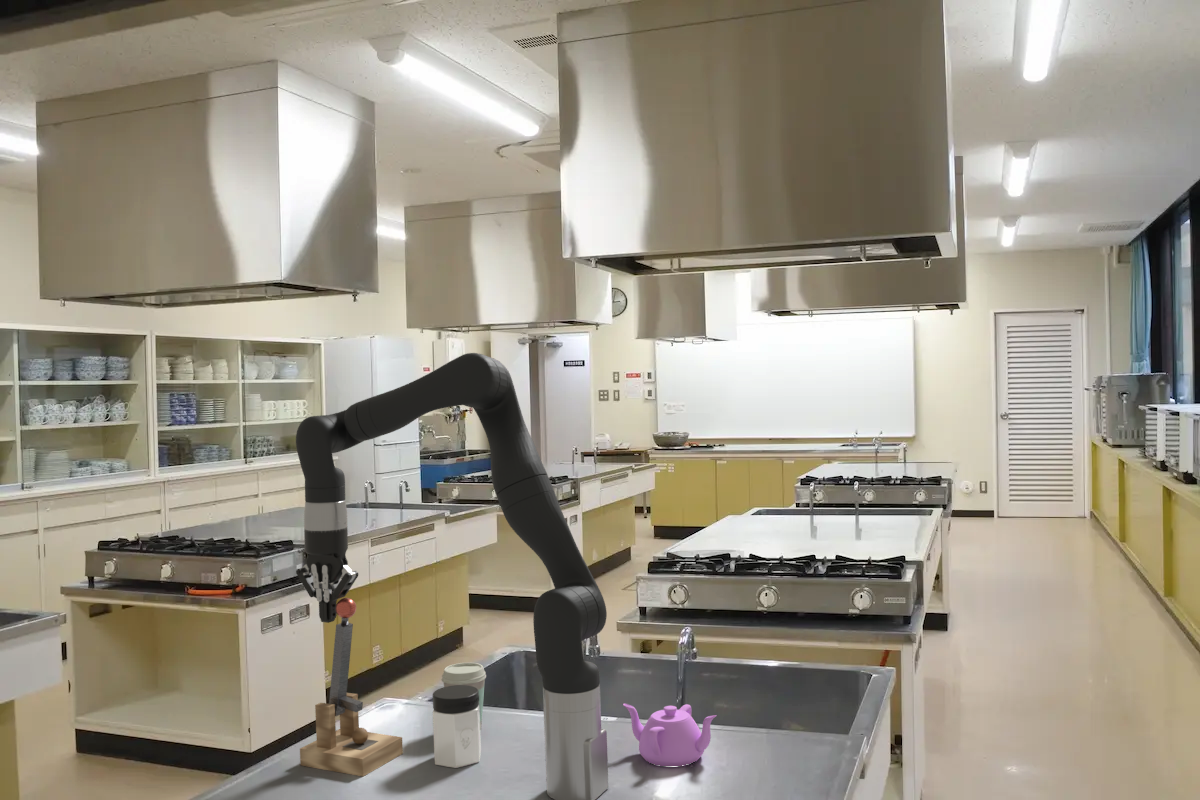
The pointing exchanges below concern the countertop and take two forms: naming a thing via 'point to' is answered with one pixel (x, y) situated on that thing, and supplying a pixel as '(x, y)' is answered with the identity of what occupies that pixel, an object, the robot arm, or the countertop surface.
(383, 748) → the cracker base
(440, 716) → the jar
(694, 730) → the teapot
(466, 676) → the coffee cup
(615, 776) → the countertop surface
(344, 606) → the lever
